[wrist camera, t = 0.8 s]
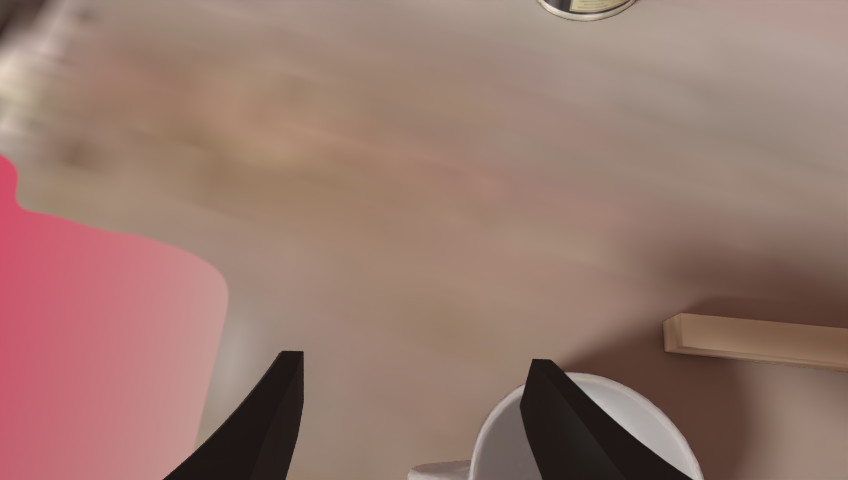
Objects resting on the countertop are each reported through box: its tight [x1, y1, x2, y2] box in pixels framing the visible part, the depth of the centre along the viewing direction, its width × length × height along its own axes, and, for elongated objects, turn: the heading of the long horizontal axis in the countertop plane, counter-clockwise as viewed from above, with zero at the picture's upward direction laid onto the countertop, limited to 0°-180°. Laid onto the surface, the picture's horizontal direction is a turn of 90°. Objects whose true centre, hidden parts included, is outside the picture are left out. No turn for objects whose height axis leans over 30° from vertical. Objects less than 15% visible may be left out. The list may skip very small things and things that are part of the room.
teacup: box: [407, 372, 704, 480], centre depth 23 cm, size 14×11×8 cm
